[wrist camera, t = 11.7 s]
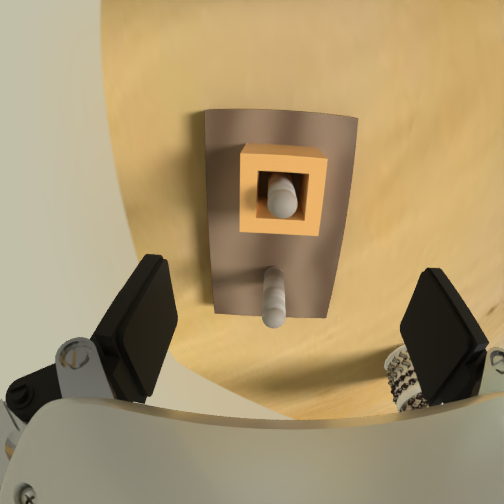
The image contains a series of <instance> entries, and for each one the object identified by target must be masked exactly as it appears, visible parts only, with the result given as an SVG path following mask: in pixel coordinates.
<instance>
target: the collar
mask: <svg viewBox="0 0 504 504" xmlns="http://www.w3.org/2000/svg"><path fill="white" fill-rule="evenodd" d="M327 161H328V159H327V158H326V157H325V155H324V154H323V153H322V152H321V151H320V150H319V149H318V148H317V147H306V146H293V145H277V144H256V143H246V144H245V146H244V148H243V150H242V151H241V153H240V232H252V233H271V234H289V235H307V236H318V235H319V228H320V220H321V213H322V205H323V197H324V188H325V180H326V170H327ZM259 171H276V172H292V173H301V177H300V189H299V199H298V198H297V202H298V203H297V209H296V211H295V213H294V214H293V215H292V216H290V217H288V218H277V217H275V216H274V215H273V214H271V212H270V211H269V209H268V204H267V202H268V197H263V196H259Z"/></svg>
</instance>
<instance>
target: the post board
mask: <svg viewBox="0 0 504 504" xmlns="http://www.w3.org/2000/svg"><path fill="white" fill-rule="evenodd" d="M357 125H358V118H354V117H349V116H341V115H333V114H324V113H314V112H303V111H289V110H270V109H209V110H205V152H206V184H207V207H208V227H209V244H210V260H211V274H212V288H213V300H214V312H215V313H216V314H231V315H247V316H262V320H263V322H264V324H265V325H266V326H268V327H270V328H278V327H280V326H282V325H283V323H284V322H285V319H286V317H294V318H326V316H327V312H328V308H329V303H330V299H331V295H332V290H333V285H334V281H335V276H336V271H337V266H338V261H339V256H340V251H341V245H342V240H343V234H344V228H345V222H346V216H347V210H348V203H349V196H350V189H351V181H352V174H353V165H354V156H355V147H356V137H357ZM246 143H256V144H277V145H293V146H306V147H317V148H318V149H319V150H320V151H321V152H322V153H323V154H324V155H325V157H326V158H327V159H328V161H327V170H326V180H325V188H324V197H323V205H322V213H321V220H320V228H319V235H318V236H307V235H289V234H271V233H252V232H240V153H241V151H242V150H243V148H244V146H245V144H246ZM300 177H301V173H292V172H276V171H259V196H263V197H268V202H267V204H268V209H269V211H270V212H271V214H273V215H274V216H275V217H277V218H288V217H290V216H292V215H293V214H294V213H295V211H296V209H297V203H298V202H297V198H298V199H299V189H300Z"/></svg>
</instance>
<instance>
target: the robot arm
mask: <svg viewBox="0 0 504 504" xmlns="http://www.w3.org/2000/svg"><path fill="white" fill-rule="evenodd" d="M177 321H178V315H177V310H176V305H175V300H174V295H173V289H172V284H171V278H170V272H169V266H168V261H167V260H166V259H163V257H162V255H154V254H146V255H145V256H144V257H143V259H142V260H141V261H140V263H139V264H138V266H137V268H136V269H135V270H134V272H133V273H132V275H131V276H130V278H129V279H128V281H127V282H126V284H125V285H124V287H123V288H122V289H121V291H120V292H119V293H118V295H117V296H116V298H115V299H114V301H113V302H112V304H111V306H110V307H109V309H108V310H107V312H106V313H105V315H104V317H103V318H102V320H101V322H100V324H99V325H98V326H97V328H96V330H95V332H94V333H93V335H92V337H91V338H90V339H87V338H83V337H77V338H73V339H70V340H68V341H66V342H65V343H64V344H62V345H61V347H60V348H59V349H58V351H57V354H56V356H55V363H54V364H52V365H50V366H47V367H45V368H43V369H40V370H38V371H36V372H33V373H31V374H29V375H26V376H24V377H22V378H19V379H17V380H16V381H14V382H13V383H12V384H11V385H10V386H9V388H8V390H7V393H6V401H3V400H2V399H1V400H0V504H504V349H502V348H499V347H493V348H490V349H489V350H488V351H486V349H485V348H486V347H487V345H488V344H489V341H488V340H487V338H486V336H485V334H484V333H483V331H482V329H481V328H480V326H479V324H478V323H477V321H476V319H475V318H474V316H473V315H472V313H471V311H470V310H469V308H468V307H467V305H466V304H465V302H464V301H463V299H462V298H461V296H460V295H459V293H458V292H457V290H456V289H455V288H454V286H453V285H452V283H451V282H450V280H449V279H448V278H447V276H446V275H445V273H444V272H443V271H442V270H441V269H440V268H426V269H425V271H424V272H422V273H421V275H420V278H419V280H418V283H417V285H416V288H415V291H414V293H413V296H412V298H411V300H410V303H409V305H408V308H407V310H406V312H405V315H404V317H403V319H402V321H401V324H400V333H401V335H402V338H403V340H404V343H405V346H406V348H407V351H408V354H409V356H410V359H411V362H412V365H413V367H414V370H415V373H416V376H417V379H418V382H419V385H420V388H421V391H422V394H423V397H424V399H425V400H427V402H428V405H429V407H427V408H422V409H417V410H411V411H405V412H399V413H392V414H384V415H376V416H367V417H357V418H344V419H326V420H266V419H247V418H234V417H223V416H214V415H205V414H198V413H191V412H184V411H177V410H171V409H165V408H159V407H154V406H148V405H144V404H145V401H146V398H147V396H149V397H150V396H151V395H152V394H153V391H154V388H155V385H156V382H157V379H158V376H159V373H160V370H161V367H162V364H163V361H164V359H165V356H166V353H167V350H168V348H169V345H170V342H171V339H172V336H173V334H174V331H175V328H176V326H177ZM133 402H138V403H133ZM139 403H143V404H139ZM442 403H443V404H442ZM441 404H442V405H441Z"/></svg>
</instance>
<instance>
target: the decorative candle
mask: <svg viewBox="0 0 504 504" xmlns="http://www.w3.org/2000/svg"><path fill="white" fill-rule="evenodd" d="M384 368H385V370H386V372H387V374H386V377H388V380H390V381H389V382H388V384H389V385H391V389H392V390H391V393H392V394H393V397H394V398H393V401H394V402H395V404H396V405H397V408H398V411H399V412H405V411H411V410H417V409H422V408H427V407H429V405H428V402H427V400H425V399H424V397H423V394H422V391H421V388H420V385H419V382H418V379H417V376H416V373H415V370H414V367H413V365H412V362H411V359H410V356H409V354H408V351H407V348H406V346H405V344H403V345H402V346H400V347H398V348H396V349H395V350H394V351H393V352H392V353H390V354H389V356H388V357H387V359H386V360H385V363H384ZM442 404H443V403H442ZM442 404H441V405H442Z"/></svg>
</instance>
